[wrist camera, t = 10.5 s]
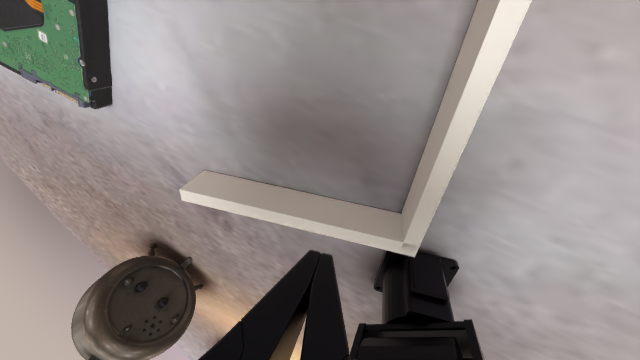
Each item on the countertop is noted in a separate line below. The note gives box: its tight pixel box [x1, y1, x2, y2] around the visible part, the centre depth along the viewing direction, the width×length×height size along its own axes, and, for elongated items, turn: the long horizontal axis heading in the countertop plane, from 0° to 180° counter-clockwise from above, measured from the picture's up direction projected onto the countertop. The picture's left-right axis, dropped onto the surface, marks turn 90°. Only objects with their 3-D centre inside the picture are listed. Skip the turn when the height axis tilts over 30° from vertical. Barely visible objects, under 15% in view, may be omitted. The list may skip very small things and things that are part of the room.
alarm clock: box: [71, 244, 203, 360], centre depth 27 cm, size 11×5×16 cm, turn 39°
